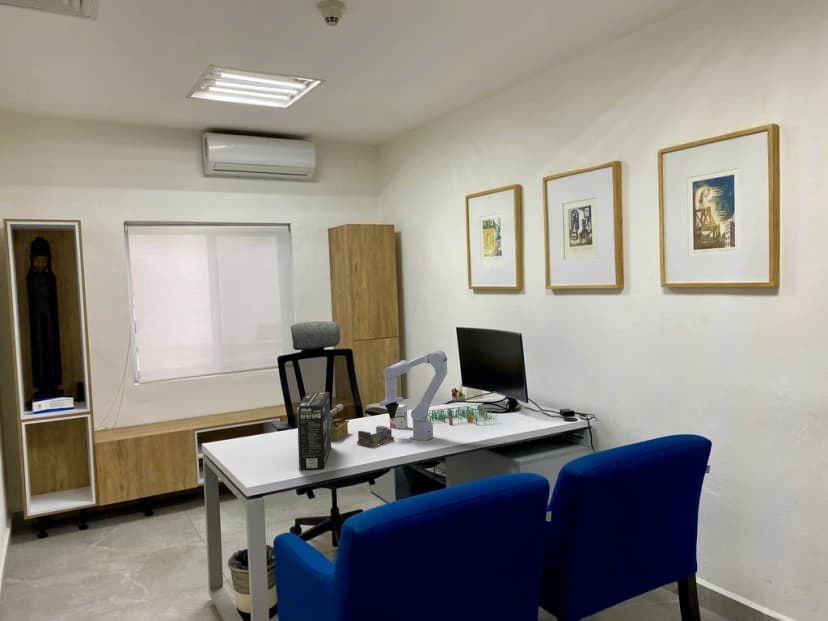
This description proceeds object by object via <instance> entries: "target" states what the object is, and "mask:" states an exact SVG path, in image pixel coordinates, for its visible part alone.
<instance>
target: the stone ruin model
mask: <svg viewBox="0 0 828 621" xmlns="http://www.w3.org/2000/svg"><path fill="white" fill-rule="evenodd" d="M392 432H393V431H392V428H389V431H388V430H385V431H382V432H378V433H376V432H375V433H371V432H369V431H366V430H365V431H364V430H358V431H357V438H358V440H357V441H356V445H357V444H359V445H358V446H362V445H363V447H366V446H368V448H373V447H375V445H376V446H379V445H378V444H380V445H382V444H381V443H383V444H386V443H389V442H391V440H392V441H395V437H394V436H393V435H392ZM388 441H389V442H388ZM385 442H386V443H385ZM372 446H373V447H372Z"/></svg>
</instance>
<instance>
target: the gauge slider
mask: <svg viewBox="0 0 828 621" xmlns="http://www.w3.org/2000/svg"><path fill="white" fill-rule="evenodd" d="M389 429H390V427H388V426H384V425H378V426H375V433H378V432H382V431H385V430H388V431H389Z"/></svg>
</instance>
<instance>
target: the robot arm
mask: <svg viewBox="0 0 828 621" xmlns="http://www.w3.org/2000/svg"><path fill="white" fill-rule="evenodd" d="M423 363H425V364H428V365H429V364H430V365H431V366H432V367H433V369H434V372H435V374H434V376H433V377H432V379H431V381H430V383H429V385H428V387H427V389H426V391H425V392H424V394H423V396H422V398H421V399H420V401H419V402H418V403H417V404H416V407H414V408H412V411H411V412H410V417H411V418H412V431H413V432H412V434H413V435H412V436H410V437H409V439H411V440H417V441H421V442H425V440H426V441H428V439H429V440H431V438H432V439H434V438H435V436H434V426H433V422H432V421H431V422H430V420H429V418H428V416H427V414H428V413H429V410H430V409H429V408H430V407H431V404H432V401H433V399H434V398H435V396H436V395H437V392H438V391H439V389H440V387H441V385H442V384H443V381H444V380H445V378H446V376H447V374H448V357H447V355H446V354H445V351H443V350H435V351H432V352H428V353H425V354H423V355H421V356H418V357H416V358H414V359H412V360H403V359H402V360H399V362H397V363H395V364H394V363H393V364H391V366H387V367H386V368H385V369H384V370H383V372H382V374H383V377H384V387H385V388H384V390H385V399H384V400H382V401H380V402H379V406H380V407H384V406H385V408H386V410H387V412H388V416H389V419H390V418H392V419H393V418H395V414H396V410H397V408H398V406H399V404H400V402H403V401H404V397H402V396H399V397H398V382H397V376H401V375H403V374H405V373H406V374H407V373H408V372H410V370H411V369H412V368H413V367H416V366H418V365H421V364H423ZM428 415H429V414H428ZM427 418H428V419H427ZM428 420H429V421H428Z"/></svg>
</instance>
